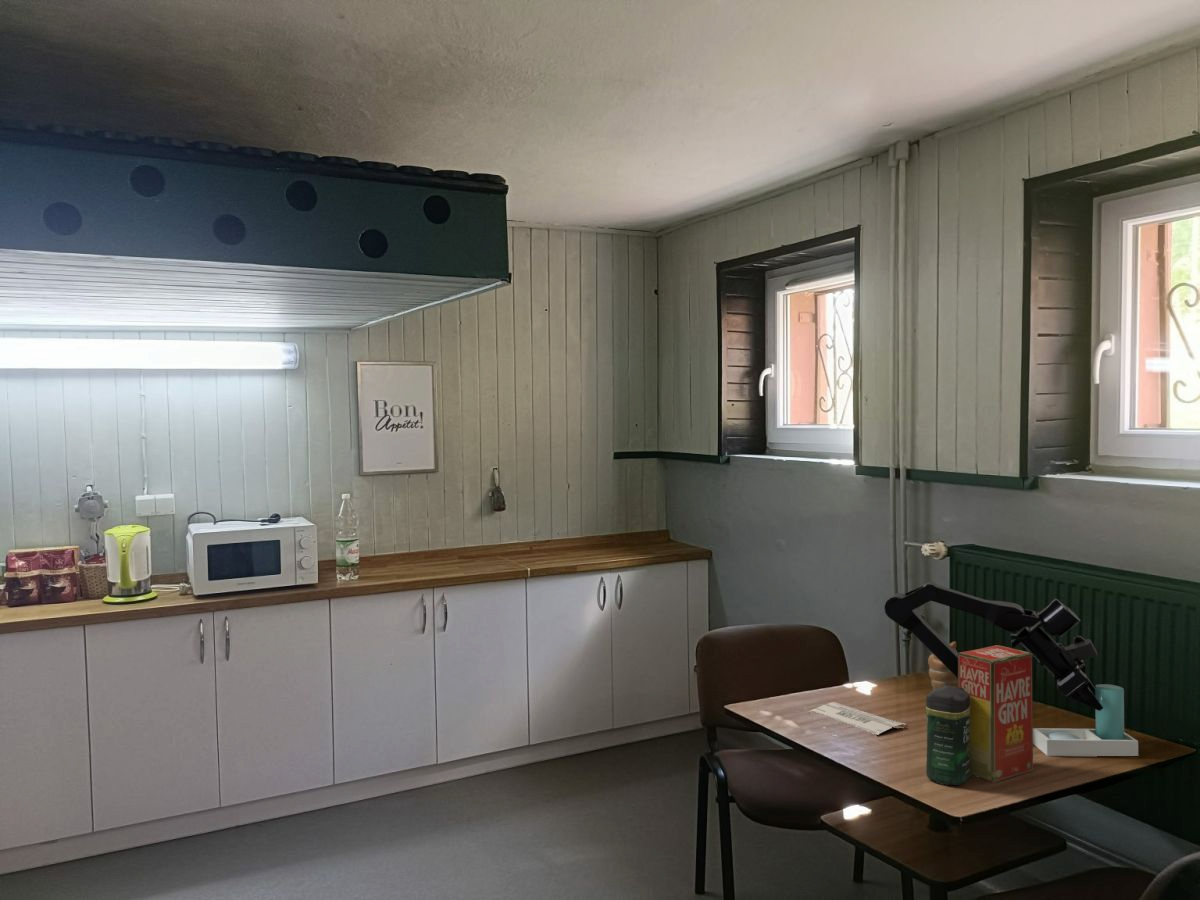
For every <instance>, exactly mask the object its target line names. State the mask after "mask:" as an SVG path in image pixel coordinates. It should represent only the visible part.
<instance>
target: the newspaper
mask: <svg viewBox="0 0 1200 900" xmlns="http://www.w3.org/2000/svg"><path fill="white" fill-rule="evenodd" d="M810 711H814V712H816V713H819V714H823V715H825V716H828V717H831V718H833V719H835V720H838V721H841V722H844V723H847V724H850V725H853V726H855V727H857V728H861V729H862V730H865V731H867V732H870V733H872V734H877V735H878V736H879V735H880V734H882V733H884V732H886V731H888V730H890V729H893V728H892V727H895V726H898V725H899V726H901V727H905V728H906V725H907V723H904V722H900V721H897V720H894V719H890V718H887V717H883V716H880V715H876V714H873V713H870V712H868V711H867V712H866V711H863V710H859V709H857V708H854V707H851V706H847V705H844V704H842V703H838V702H835V701H831V702H828V703H826V704H825V703H824V704H823V705H820V706H818V707H815V708H813V709H811V710H810ZM886 718H887V719H886ZM889 719H890V720H889ZM893 720H894V721H893ZM896 721H897V722H896Z"/></svg>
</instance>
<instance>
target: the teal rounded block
mask: <svg viewBox="0 0 1200 900" xmlns="http://www.w3.org/2000/svg"><path fill="white" fill-rule="evenodd" d="M1094 688H1095V697H1096V698H1097V700H1098V701H1099V702H1100V704H1101V705H1102V706H1103V709H1102V710H1101V711H1099V710H1096V709H1094V710H1095V713H1094V714H1095V715H1094V716H1095V729H1096V736H1098V737H1099V738H1100V739H1102V740H1124V732H1125V697H1124V696H1125V690H1124V688H1123V687H1121V686H1119V685H1114V684H1107V683H1104V684H1102V683H1100V684H1095V686H1094Z"/></svg>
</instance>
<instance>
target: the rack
mask: <svg viewBox="0 0 1200 900" xmlns="http://www.w3.org/2000/svg"><path fill="white" fill-rule="evenodd" d="M1033 746H1036V748H1037V749H1038V750H1039V751H1040V752H1042V753H1043V754H1045V756H1047V757H1097V756H1138V757H1139V740H1137V739H1136V738H1134V737H1133V736H1131V735H1130V734H1128V733H1126V732H1125V731H1124V740H1102V739H1100V738H1099V737H1098V736H1096V728H1059V727H1058V728H1056V727H1055V728H1052V727H1051V728H1047V727H1045V728H1044V727H1039V728H1038V727H1033Z"/></svg>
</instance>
